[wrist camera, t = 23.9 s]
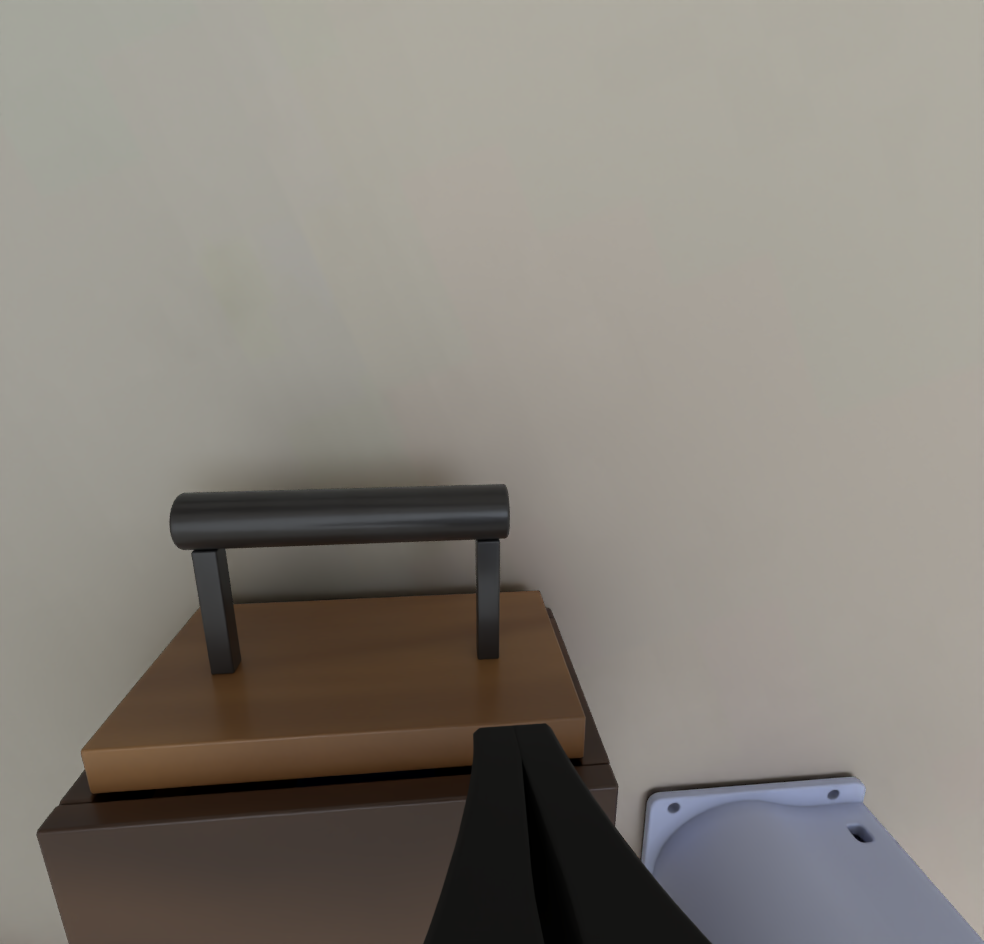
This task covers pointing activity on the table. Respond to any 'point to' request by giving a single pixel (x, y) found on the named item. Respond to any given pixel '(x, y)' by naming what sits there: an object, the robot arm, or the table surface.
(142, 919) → the cabinet
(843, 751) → the table surface
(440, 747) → the drawer
